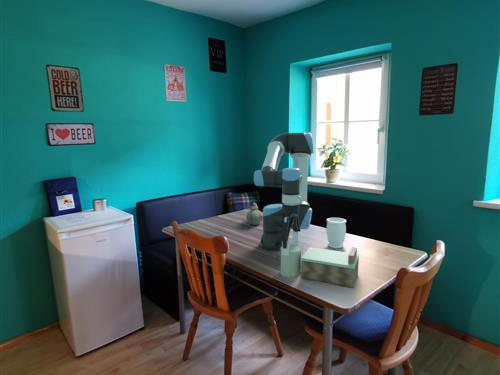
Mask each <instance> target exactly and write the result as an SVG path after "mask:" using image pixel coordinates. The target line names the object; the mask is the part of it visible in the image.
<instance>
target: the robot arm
mask: <svg viewBox="0 0 500 375" xmlns="http://www.w3.org/2000/svg"><path fill="white" fill-rule="evenodd" d="M266 148H267V153H266V155H265V158H264V161H263V164H262V167H261V169H257V170H255V171H254V173H253V183H254V185H255V186H257V187H281V188H282V189H281V190H282V192H281V193H282V194H281V197H282V198H281V203H273V204H267V205H266V206H264V207H263V208H262V216H263V220H262V234H261V237H260V241H259V246H260V248H262V249H264V250H268V251H278V250H280V251H281V247H282V255H286V256H288V255H289V245H290V243H289V242H290V241H289V237H290V232H291V230H292V234H291V235H292V236H291V237H292V238H291V239H292V241H291V245H296V246H299V233H300V232H301V231H302V230H308V229H309V228H310V225H311V220H312V214H313V209H312V208H311V207H310V203H309V202H308V179H309V178H308V176H309V174H308V173H309V170H308V169H309V159H310V158H311V157H312V154H314V152H315V151H314V142H313V135H312V133H311V132H283V133H280V134H277V135H276V136H275V137H274V138H272V139H271V140H270V142H269V143H268V146H267V147H266ZM284 154H289V158H291V159H292V166H291V167H286V168H283V169H282V170H278V168H279V164H280V161H281V158H282V156H284Z"/></svg>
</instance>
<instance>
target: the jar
mask: <svg viewBox="0 0 500 375" xmlns="http://www.w3.org/2000/svg"><path fill="white" fill-rule="evenodd" d="M346 223H347V219H345V218H341V217H329V218H326V237H327V241H328V243H327V246H328V247H329V248H332V249H342V248H344V242H345V239H346V233H347V226H346Z"/></svg>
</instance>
